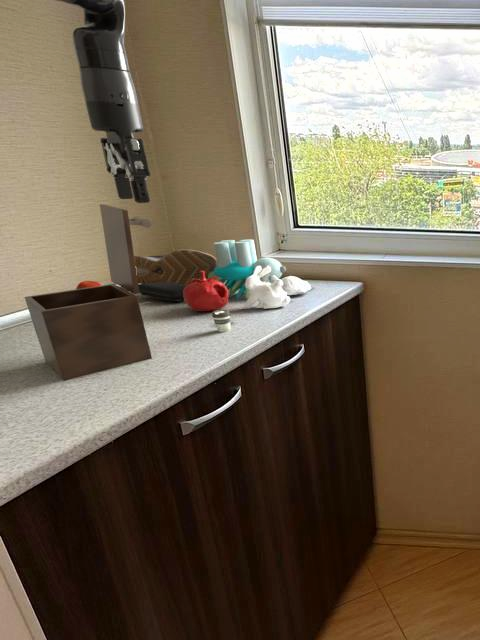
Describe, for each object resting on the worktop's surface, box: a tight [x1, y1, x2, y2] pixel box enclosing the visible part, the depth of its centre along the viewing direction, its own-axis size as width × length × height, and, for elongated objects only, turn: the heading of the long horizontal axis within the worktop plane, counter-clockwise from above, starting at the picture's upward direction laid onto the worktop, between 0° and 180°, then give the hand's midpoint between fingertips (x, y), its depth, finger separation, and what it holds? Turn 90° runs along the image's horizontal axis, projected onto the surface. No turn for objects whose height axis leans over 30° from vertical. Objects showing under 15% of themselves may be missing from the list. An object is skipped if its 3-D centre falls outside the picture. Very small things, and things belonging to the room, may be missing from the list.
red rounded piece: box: [75, 280, 102, 289], centre depth 123 cm, size 6×6×8 cm
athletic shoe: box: [134, 248, 218, 285], centre depth 149 cm, size 11×28×12 cm
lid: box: [99, 203, 153, 295], centre depth 95 cm, size 14×13×5 cm
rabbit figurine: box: [238, 266, 291, 310], centre depth 127 cm, size 12×8×10 cm, turn 90°
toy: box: [208, 238, 287, 301], centre depth 137 cm, size 12×22×15 cm, turn 95°
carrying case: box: [138, 282, 187, 302], centre depth 136 cm, size 11×3×15 cm
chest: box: [24, 283, 153, 382], centre depth 93 cm, size 14×13×13 cm
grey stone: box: [280, 275, 312, 296], centre depth 138 cm, size 9×8×5 cm
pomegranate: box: [183, 271, 229, 312], centre depth 125 cm, size 10×10×9 cm
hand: (134, 200), depth 93 cm, fingers open, 8 cm apart
